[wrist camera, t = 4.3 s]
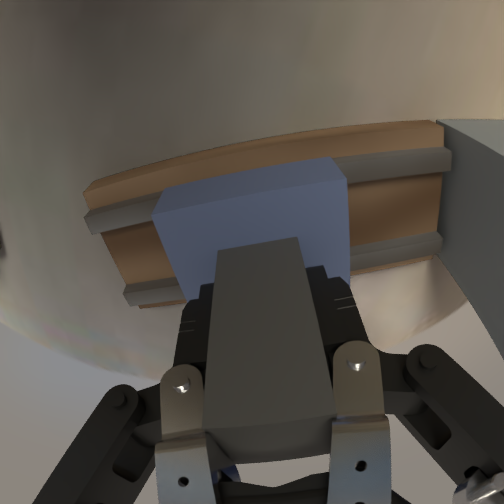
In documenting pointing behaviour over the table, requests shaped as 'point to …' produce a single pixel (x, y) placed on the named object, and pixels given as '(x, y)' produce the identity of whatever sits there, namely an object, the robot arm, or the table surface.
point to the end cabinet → (475, 217)
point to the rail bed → (280, 152)
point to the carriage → (262, 299)
